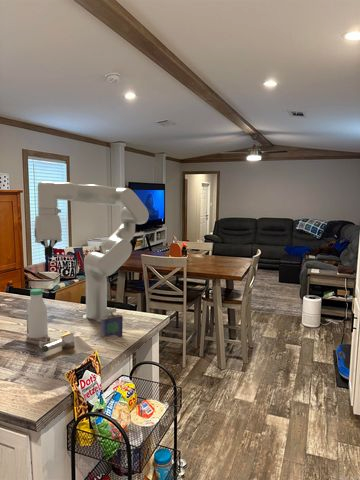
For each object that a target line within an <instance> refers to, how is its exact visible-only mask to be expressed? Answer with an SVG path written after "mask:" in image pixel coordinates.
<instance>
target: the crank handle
mask: <svg viewBox="0 0 360 480" xmlns="http://www.w3.org/2000/svg"><path fill="white" fill-rule="evenodd" d="M74 337H75V334H74V333H73V332H64V333H62V334H61V335H60V338H61V339H58V340H54V341H55V342H54V341H52V342H53V343H50V344H47V345H44V346H42V348H41V349H40V351H41V350H42V351H41V352H42V353H43V352H47V351H49V350H51V349H54V348H57V347H59V346H62V348H64V349H69V348H72V347H74Z"/></svg>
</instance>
